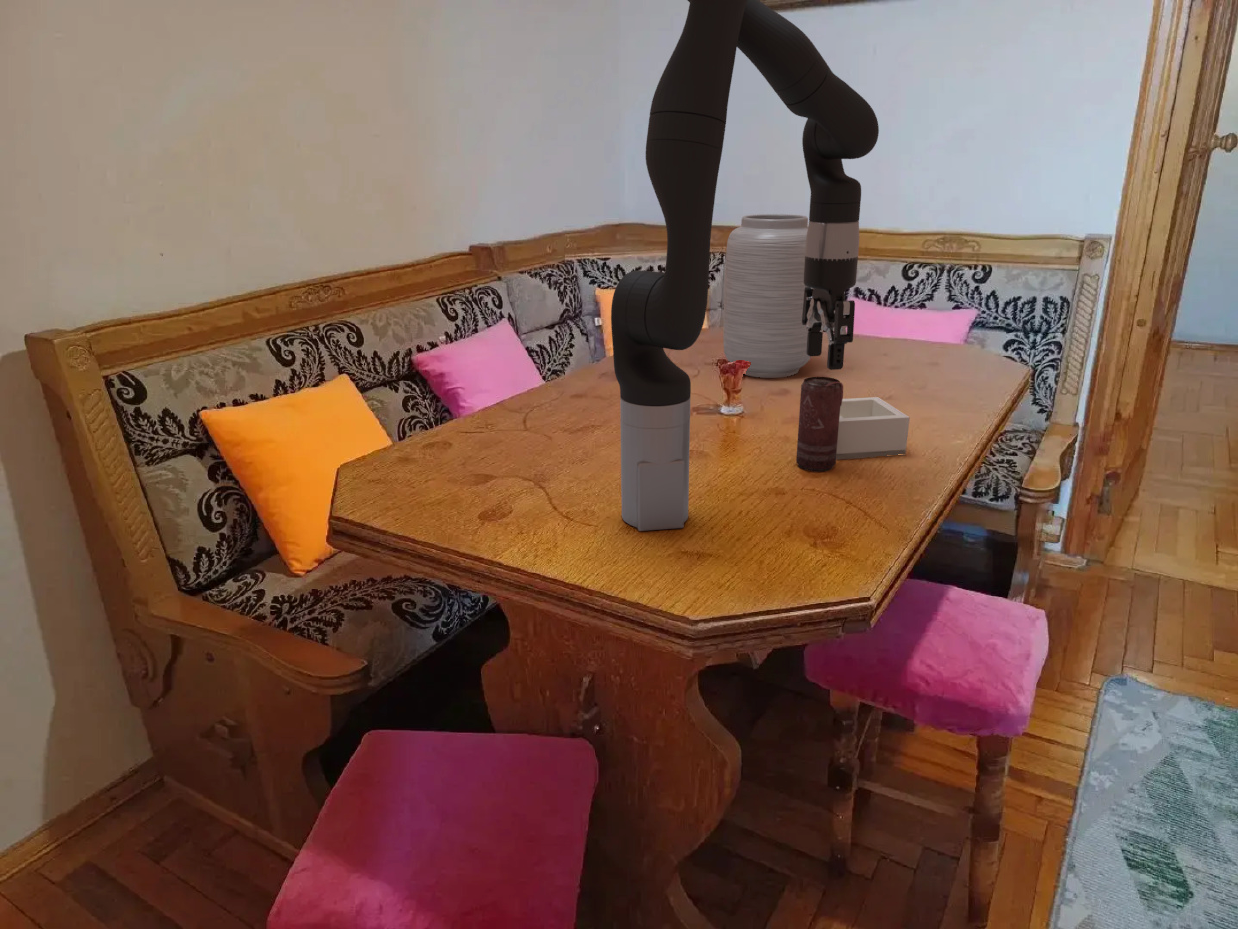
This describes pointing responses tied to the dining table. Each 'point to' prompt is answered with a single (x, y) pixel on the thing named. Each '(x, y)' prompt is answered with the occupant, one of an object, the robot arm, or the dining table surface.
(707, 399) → the dining table surface
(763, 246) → the vase
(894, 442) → the well
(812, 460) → the can
